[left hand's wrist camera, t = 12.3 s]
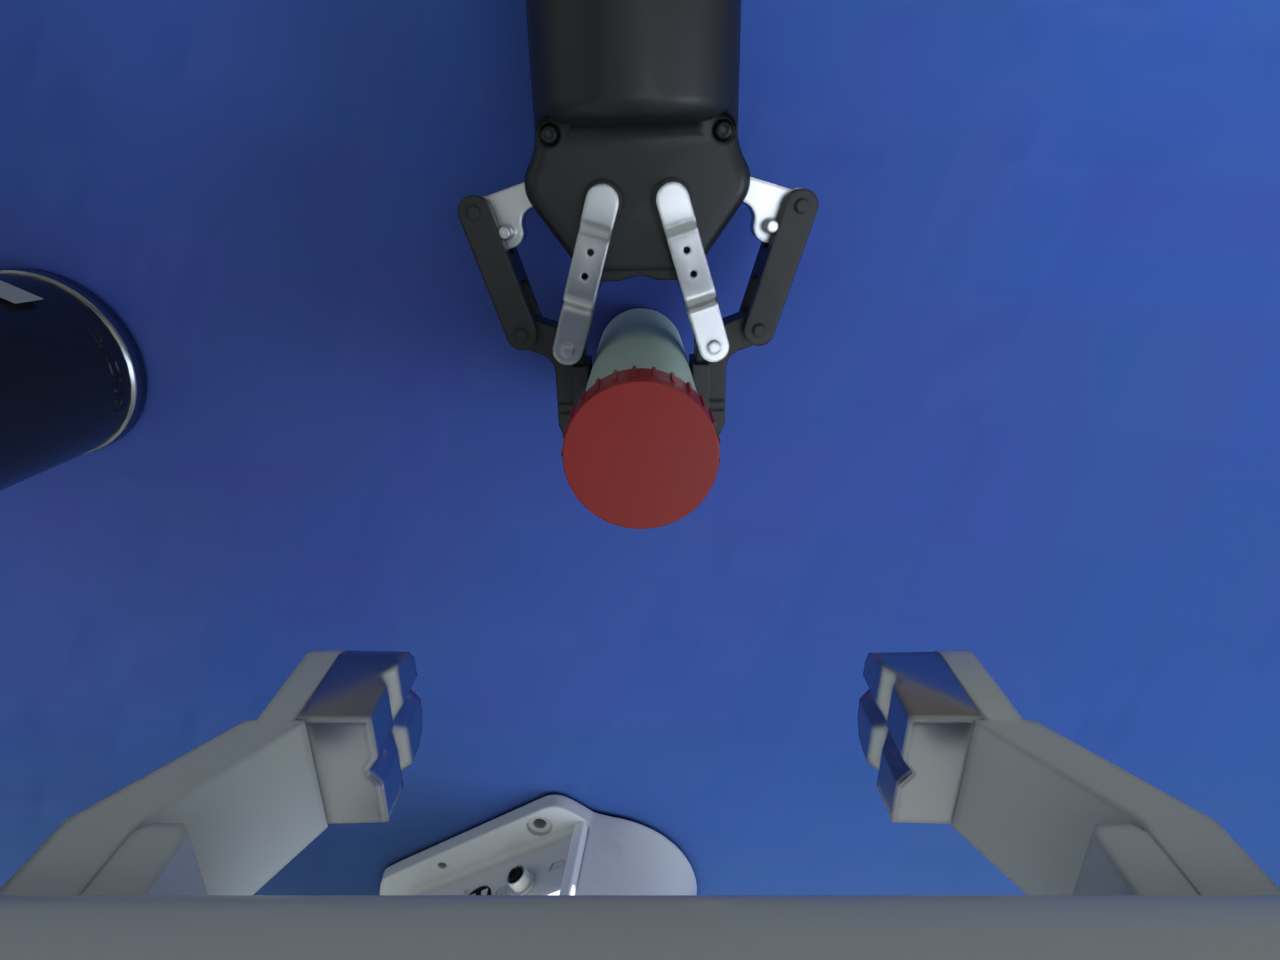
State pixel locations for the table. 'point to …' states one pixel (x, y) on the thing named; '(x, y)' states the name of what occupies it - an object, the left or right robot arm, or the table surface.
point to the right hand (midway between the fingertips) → (642, 441)
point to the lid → (640, 448)
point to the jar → (640, 346)
